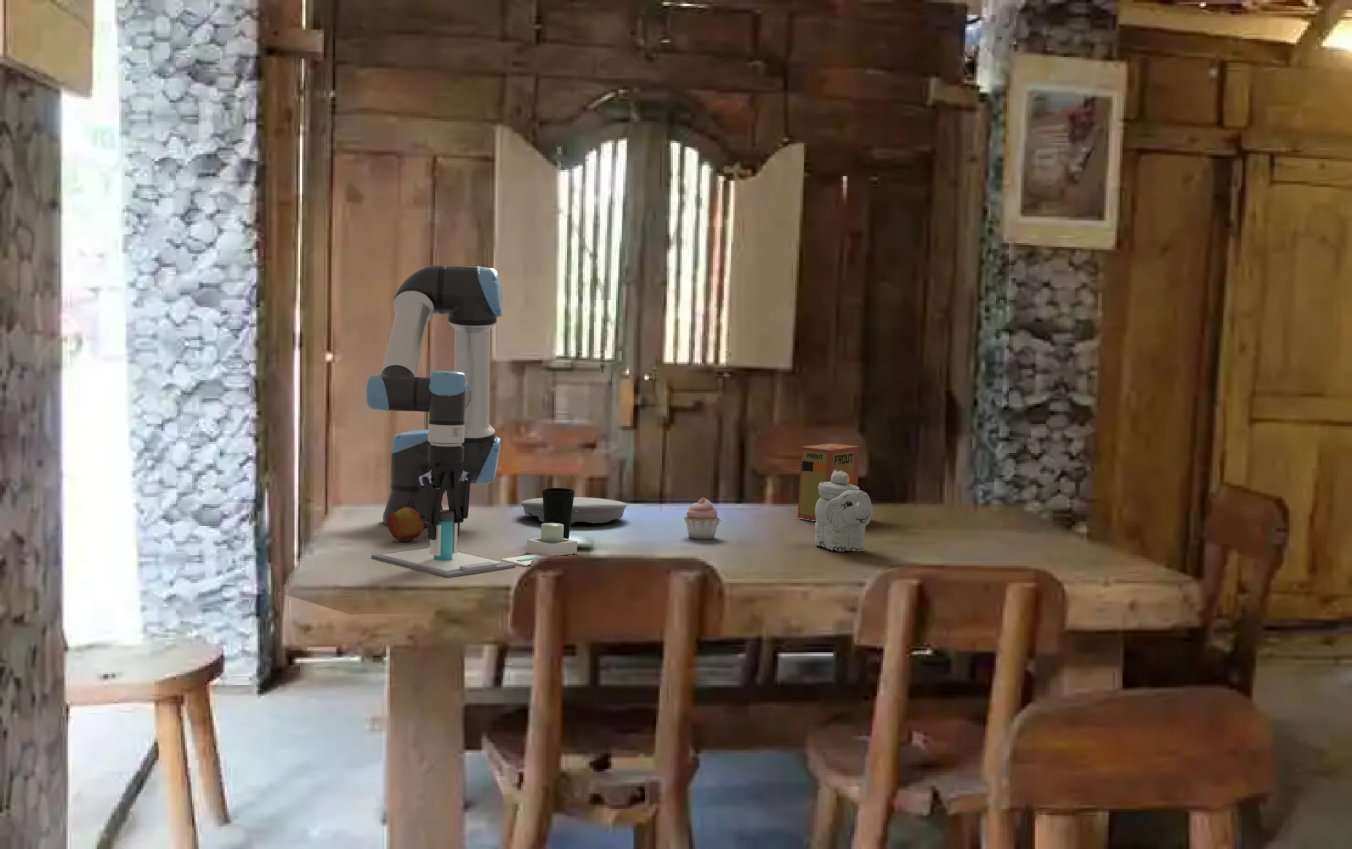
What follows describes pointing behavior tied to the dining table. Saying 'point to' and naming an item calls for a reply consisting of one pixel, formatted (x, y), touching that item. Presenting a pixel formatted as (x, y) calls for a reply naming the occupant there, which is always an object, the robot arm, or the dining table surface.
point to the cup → (558, 507)
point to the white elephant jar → (841, 514)
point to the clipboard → (443, 562)
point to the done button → (552, 532)
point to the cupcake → (702, 520)
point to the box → (823, 472)
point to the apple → (405, 524)
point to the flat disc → (581, 509)
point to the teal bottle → (446, 535)
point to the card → (522, 559)
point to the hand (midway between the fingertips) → (443, 553)
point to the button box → (551, 547)
